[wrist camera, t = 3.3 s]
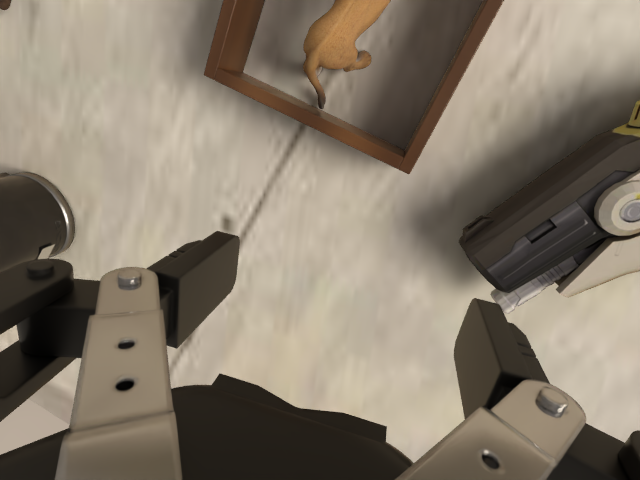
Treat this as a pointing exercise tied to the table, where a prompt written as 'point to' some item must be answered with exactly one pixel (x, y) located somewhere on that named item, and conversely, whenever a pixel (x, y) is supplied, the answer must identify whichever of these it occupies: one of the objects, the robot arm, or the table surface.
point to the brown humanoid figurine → (4, 4)
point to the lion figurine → (339, 39)
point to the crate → (228, 67)
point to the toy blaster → (565, 223)
